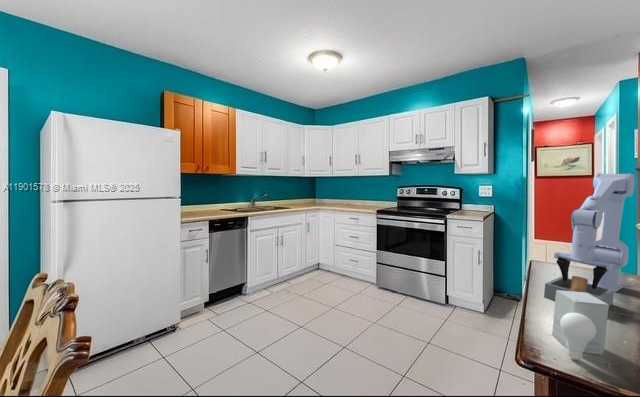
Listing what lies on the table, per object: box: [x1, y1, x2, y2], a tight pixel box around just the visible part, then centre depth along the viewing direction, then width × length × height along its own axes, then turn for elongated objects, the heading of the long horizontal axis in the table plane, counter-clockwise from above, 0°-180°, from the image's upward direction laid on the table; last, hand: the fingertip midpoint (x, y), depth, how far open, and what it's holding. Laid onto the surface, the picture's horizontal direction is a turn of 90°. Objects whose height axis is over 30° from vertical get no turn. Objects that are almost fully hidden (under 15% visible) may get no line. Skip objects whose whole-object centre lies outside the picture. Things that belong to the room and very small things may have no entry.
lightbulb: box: [560, 313, 596, 361], centre depth 65 cm, size 6×6×11 cm
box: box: [543, 276, 615, 308], centre depth 96 cm, size 14×14×5 cm
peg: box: [571, 275, 589, 293], centre depth 96 cm, size 4×4×8 cm
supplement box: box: [551, 290, 610, 355], centre depth 71 cm, size 7×7×13 cm
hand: (579, 284), depth 96 cm, fingers open, 7 cm apart
